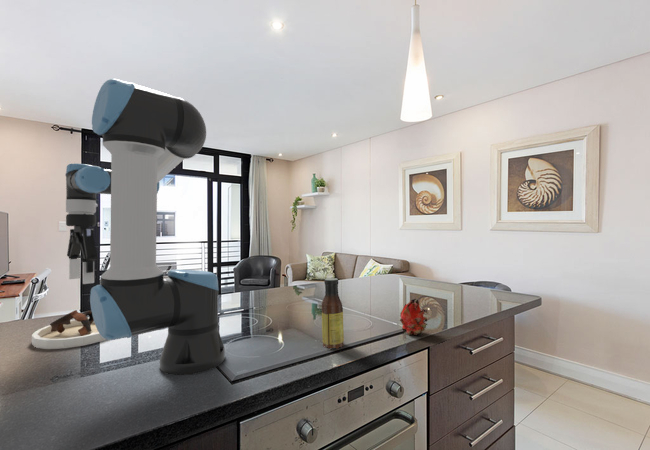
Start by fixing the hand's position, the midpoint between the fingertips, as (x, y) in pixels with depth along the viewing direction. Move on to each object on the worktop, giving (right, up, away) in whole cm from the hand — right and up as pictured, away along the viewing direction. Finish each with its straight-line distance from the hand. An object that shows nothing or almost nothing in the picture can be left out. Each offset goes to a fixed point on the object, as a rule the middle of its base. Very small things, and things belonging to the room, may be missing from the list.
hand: (81, 281), depth 99 cm
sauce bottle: (+79, -18, -8) cm, 82 cm away
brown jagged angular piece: (0, -18, +1) cm, 18 cm away
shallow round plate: (0, -17, 0) cm, 17 cm away
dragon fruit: (+105, -18, +2) cm, 107 cm away
